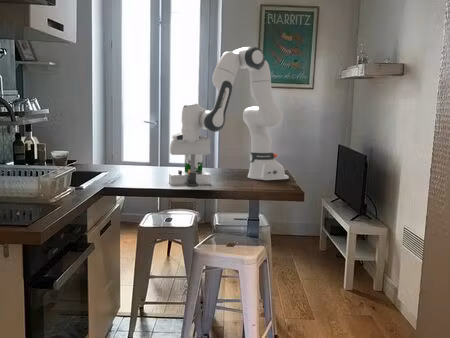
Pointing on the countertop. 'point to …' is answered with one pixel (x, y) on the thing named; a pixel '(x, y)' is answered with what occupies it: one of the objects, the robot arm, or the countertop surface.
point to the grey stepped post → (192, 173)
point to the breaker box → (183, 178)
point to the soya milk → (197, 163)
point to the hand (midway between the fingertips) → (190, 163)
